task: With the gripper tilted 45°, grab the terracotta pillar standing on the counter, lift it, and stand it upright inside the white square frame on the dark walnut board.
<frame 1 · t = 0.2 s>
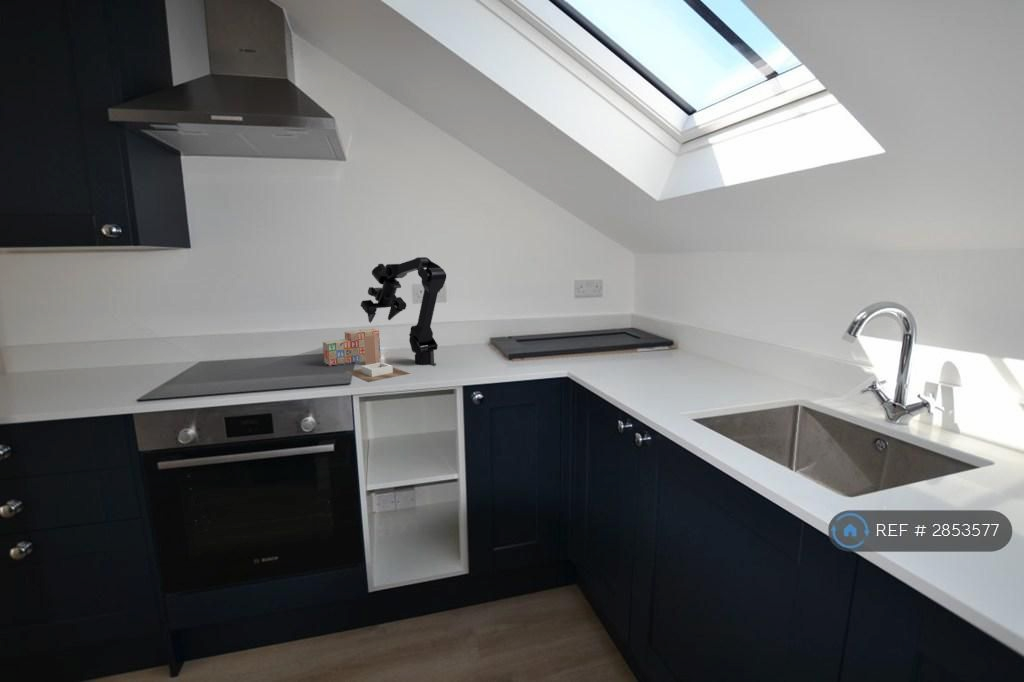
hand: (379, 320, 201), 15 cm above the worktop, tool tilted 35°, fingers open, 9 cm apart
stack of blocks: (353, 362, 194), on the worktop
white square frame: (377, 372, 170), resting on walnut board
terracotta pillar: (372, 366, 184), on the worktop
walnut board: (377, 375, 170), on the worktop
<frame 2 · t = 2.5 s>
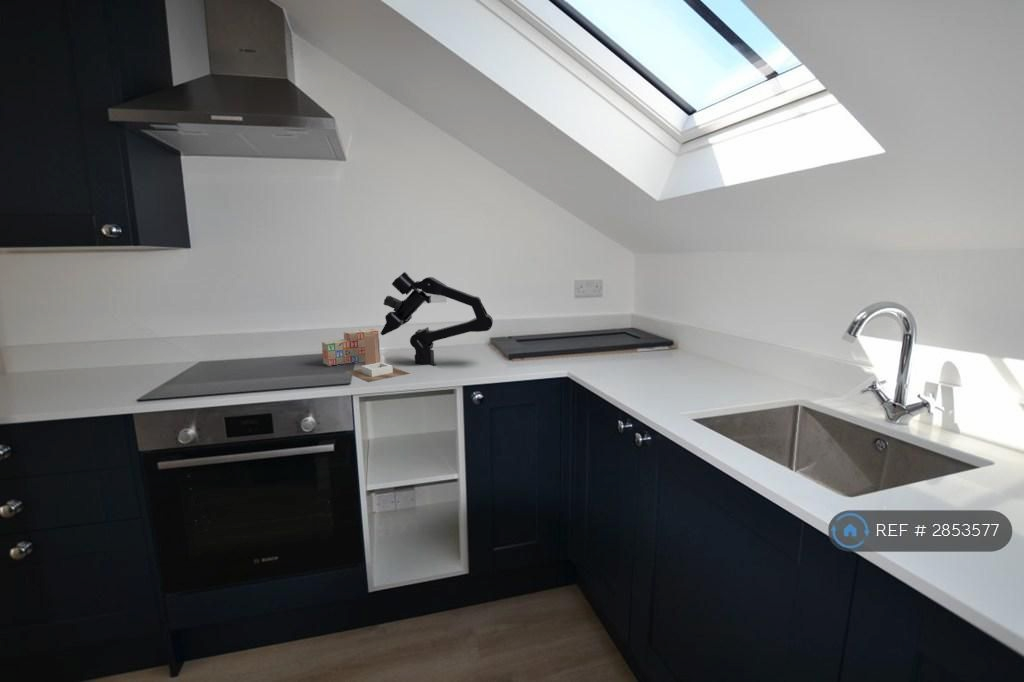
hand: (384, 332, 181), 14 cm above the worktop, tool tilted 45°, fingers open, 9 cm apart
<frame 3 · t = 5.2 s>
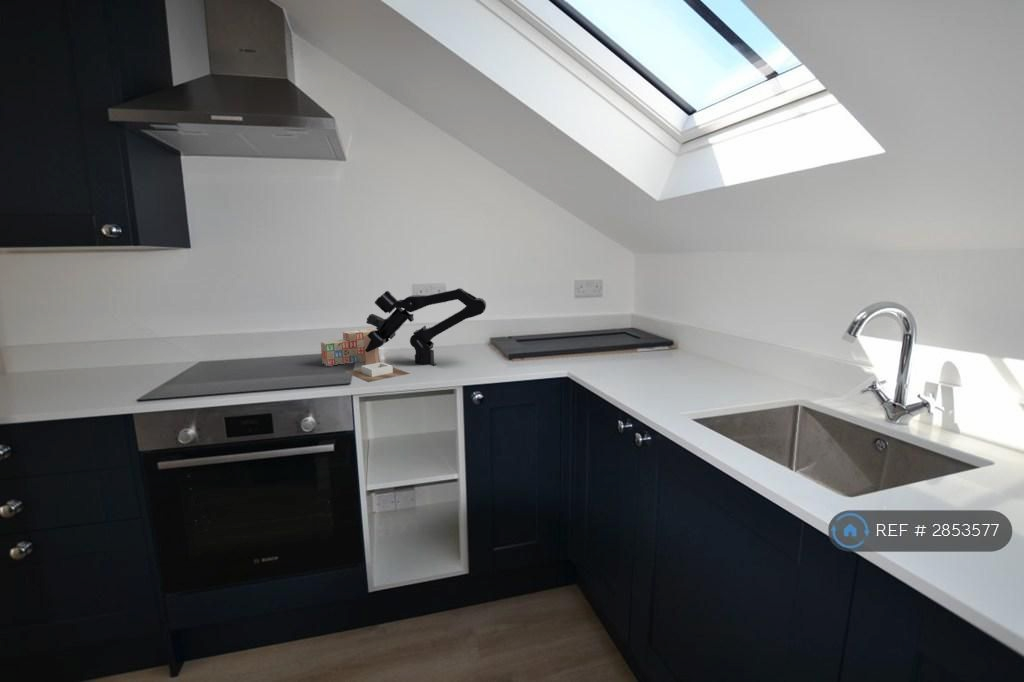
hand: (368, 350, 183), 7 cm above the worktop, tool tilted 45°, fingers closed on terracotta pillar, 4 cm apart
terracotta pillar: (372, 366, 184), on the worktop, touching gripper
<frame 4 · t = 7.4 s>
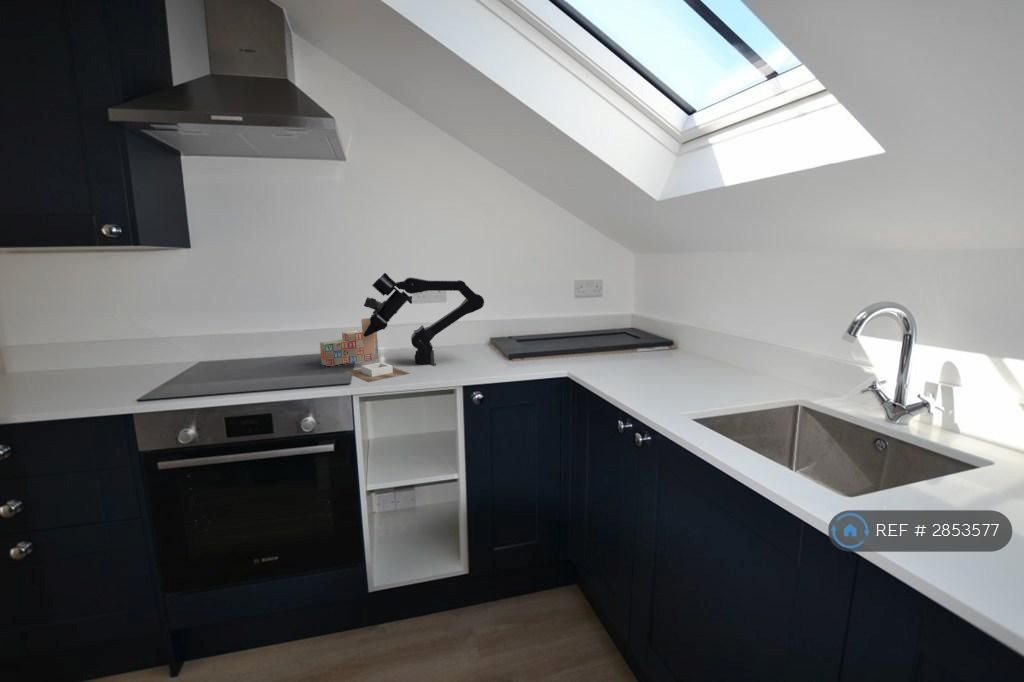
hand: (364, 335, 176), 13 cm above the worktop, tool tilted 45°, fingers closed on terracotta pillar, 4 cm apart
terracotta pillar: (369, 352, 178), point 7 cm above the worktop, touching gripper
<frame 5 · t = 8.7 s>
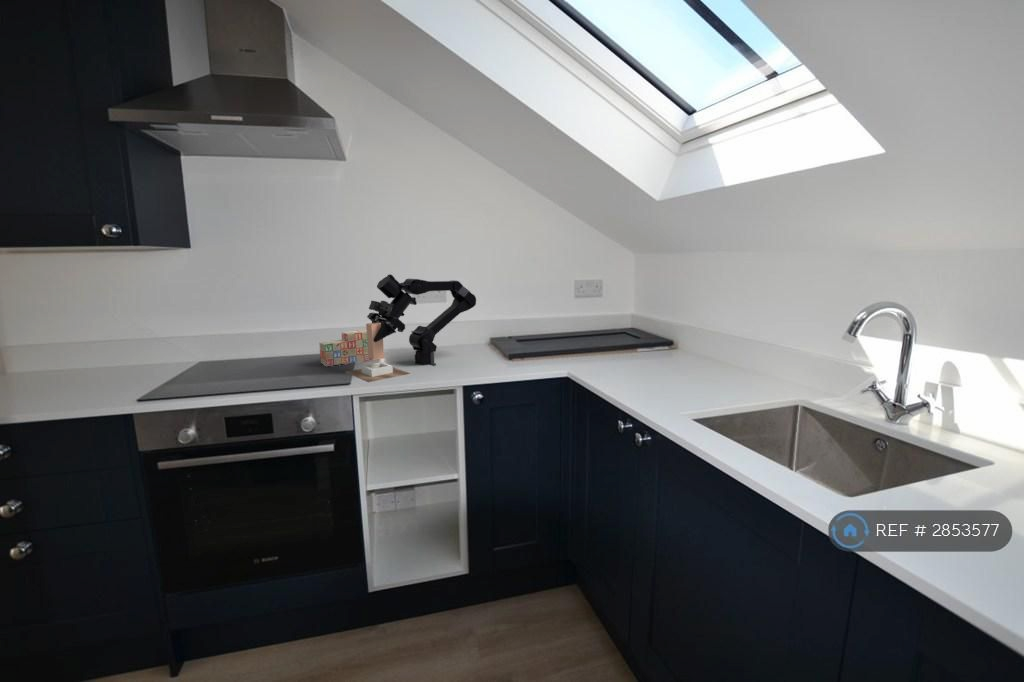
hand: (371, 340, 167), 13 cm above the worktop, tool tilted 45°, fingers closed on terracotta pillar, 4 cm apart
terracotta pillar: (376, 358, 169), point 7 cm above the worktop, touching gripper
when the fingers open (9 cm above the worktop, at t = 9.9 s): terracotta pillar stays where it is, resting on walnut board.
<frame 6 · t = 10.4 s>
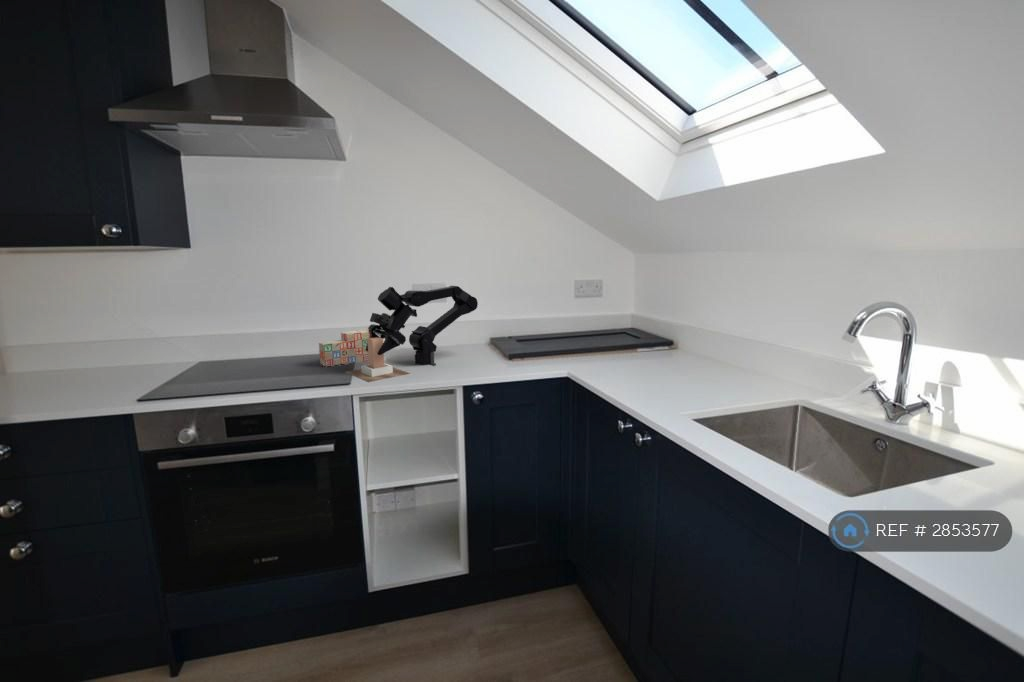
hand: (372, 352, 168), 9 cm above the worktop, tool tilted 45°, fingers open, 9 cm apart
terracotta pillar: (377, 372, 170), point 1 cm above the worktop, touching walnut board
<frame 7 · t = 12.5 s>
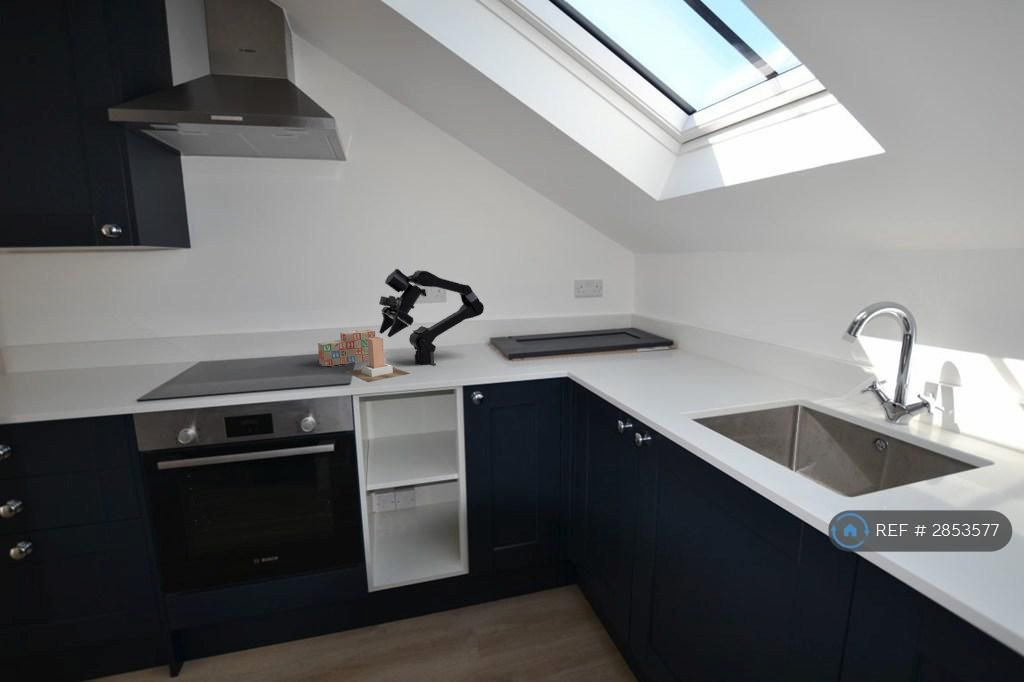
hand: (384, 334, 173), 14 cm above the worktop, tool tilted 40°, fingers open, 9 cm apart
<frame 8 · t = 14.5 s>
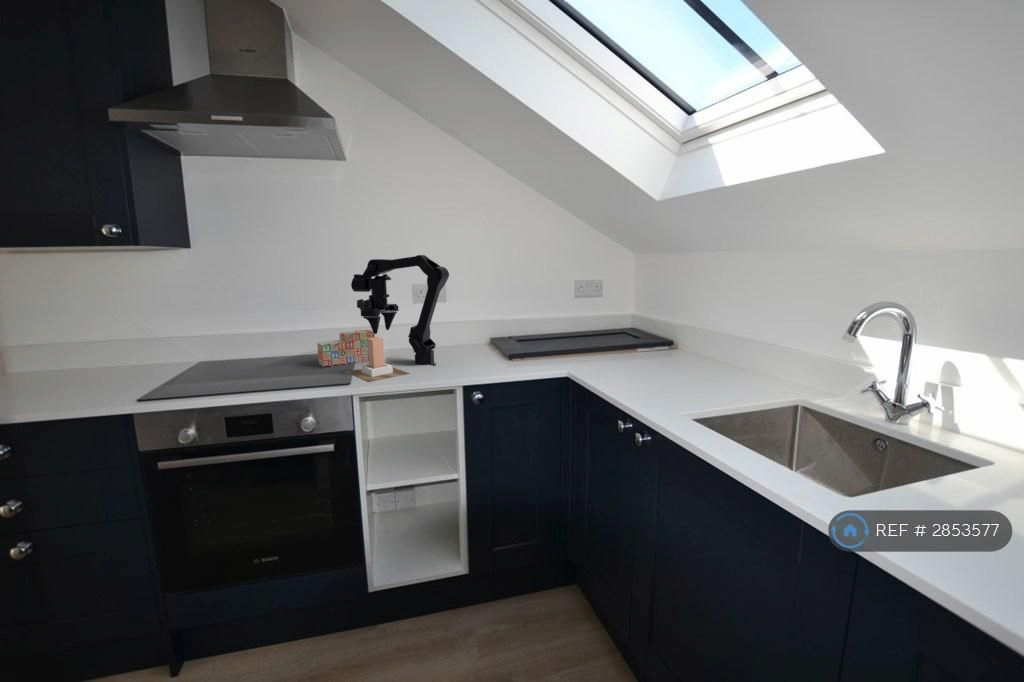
hand: (381, 331, 186), 13 cm above the worktop, tool pointing down, fingers open, 9 cm apart
at the end: terracotta pillar 0.0 cm off-centre on the white square frame, point 0.0 cm above the white square frame's base; terracotta pillar tilted 0°; the gripper is holding nothing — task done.
